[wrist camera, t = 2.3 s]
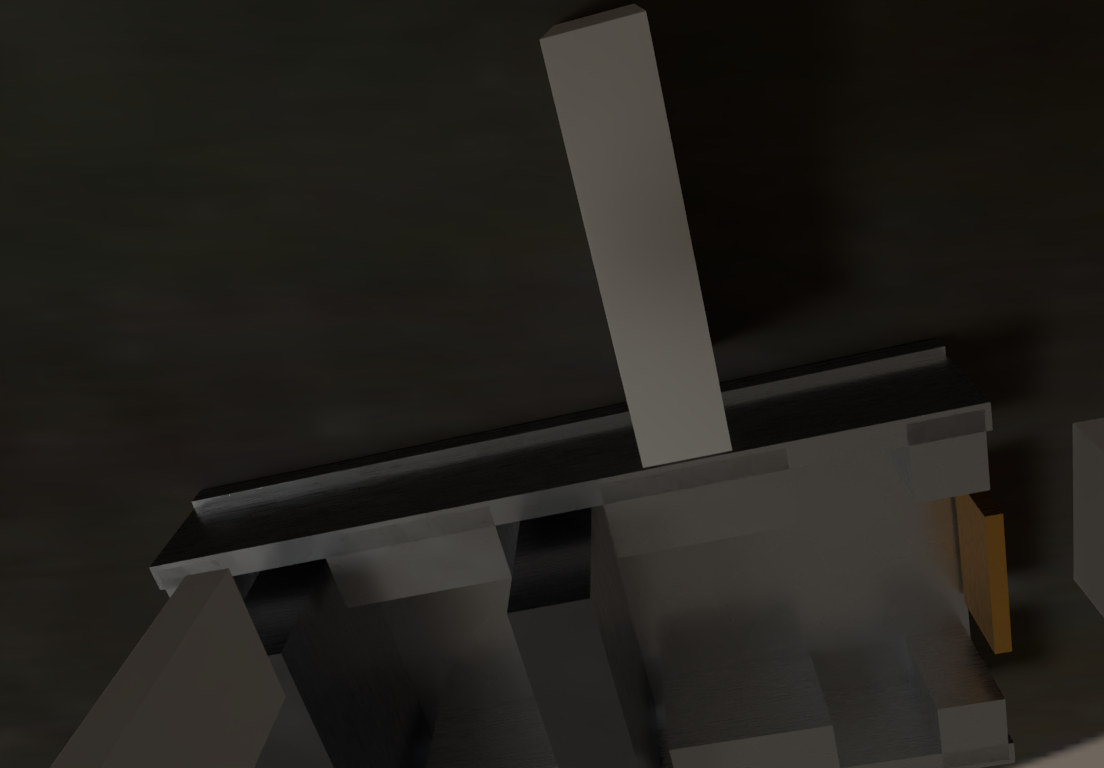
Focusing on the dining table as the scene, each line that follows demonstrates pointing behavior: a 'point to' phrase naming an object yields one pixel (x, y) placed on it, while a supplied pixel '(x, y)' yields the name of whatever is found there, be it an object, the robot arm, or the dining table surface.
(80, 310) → the dining table surface
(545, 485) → the rack
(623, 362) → the panel
